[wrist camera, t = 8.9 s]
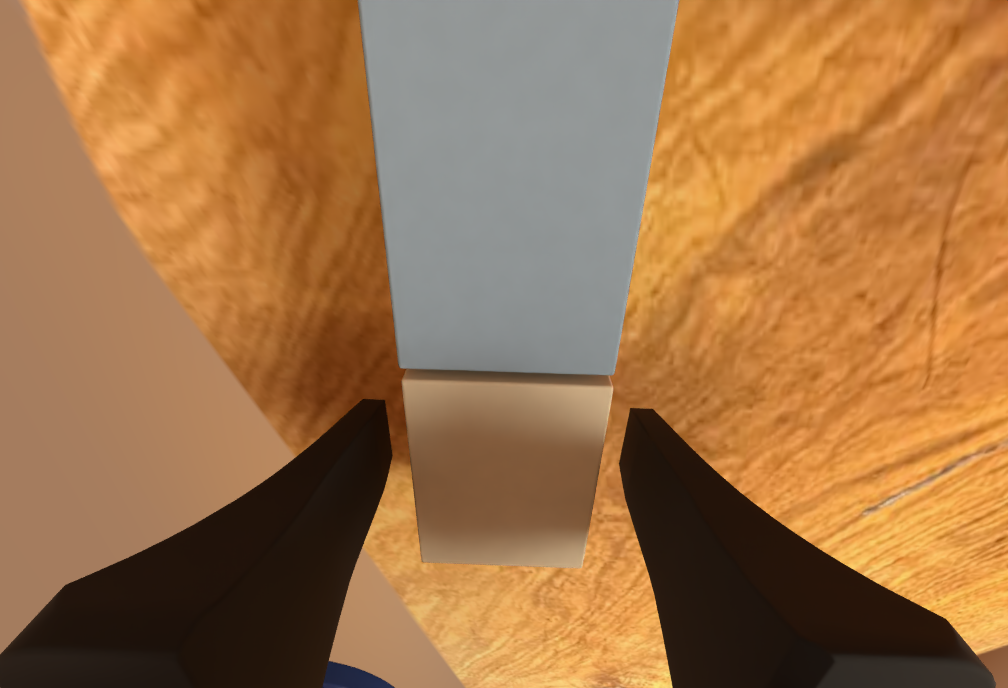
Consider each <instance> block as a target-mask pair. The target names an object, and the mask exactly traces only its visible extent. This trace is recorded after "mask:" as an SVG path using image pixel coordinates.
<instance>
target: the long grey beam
mask: <svg viewBox="0 0 1008 688" xmlns="http://www.w3.org/2000/svg"><path fill="white" fill-rule="evenodd" d="M678 4H679V0H358V8H359V17H360V25H361V34H362V43H363V52H364V61H365V70H366V79H367V88H368V97H369V106H370V115H371V124H372V133H373V142H374V151H375V160H376V169H377V178H378V187H379V196H380V205H381V213H382V222H383V231H384V240H385V249H386V258H387V267H388V276H389V285H390V294H391V303H392V312H393V321H394V330H395V339H396V348H397V357H398V365H399V367H400V368H404V369H434V370H464V371H494V372H523V373H553V374H583V375H613V374H614V372H615V368H616V362H617V356H618V350H619V344H620V339H621V333H622V327H623V321H624V316H625V310H626V304H627V298H628V292H629V287H630V281H631V275H632V269H633V264H634V258H635V252H636V246H637V240H638V235H639V229H640V223H641V217H642V212H643V206H644V200H645V194H646V188H647V183H648V177H649V171H650V165H651V160H652V154H653V148H654V142H655V136H656V131H657V125H658V119H659V113H660V108H661V102H662V96H663V90H664V84H665V79H666V73H667V67H668V61H669V56H670V50H671V44H672V38H673V32H674V27H675V21H676V15H677V9H678Z"/></svg>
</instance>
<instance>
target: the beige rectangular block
mask: <svg viewBox="0 0 1008 688" xmlns="http://www.w3.org/2000/svg"><path fill="white" fill-rule="evenodd" d="M401 382H402V391H403V400H404V409H405V418H406V427H407V436H408V444H409V453H410V462H411V471H412V480H413V489H414V498H415V507H416V516H417V525H418V534H419V543H420V551H421V560H422V562H428V563H454V564H480V565H506V566H532V567H558V568H582V566H583V561H584V555H585V549H586V544H587V538H588V532H589V526H590V521H591V515H592V509H593V503H594V498H595V492H596V486H597V480H598V475H599V469H600V463H601V457H602V452H603V446H604V440H605V434H606V429H607V423H608V417H609V411H610V406H611V400H612V394H613V385H612V382H611V379H610V376H609V375H583V374H553V373H523V372H494V371H464V370H434V369H406V371H405V374H404V376H403V379H402V381H401Z"/></svg>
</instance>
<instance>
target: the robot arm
mask: <svg viewBox="0 0 1008 688" xmlns="http://www.w3.org/2000/svg"><path fill="white" fill-rule="evenodd" d="M391 460H392V448H391V441H390V433H389V426H388V418H387V411H386V404H385V400H377V399H363V400H362V401H360V402H359V403H358V404H357V405H356V406H355V407H354V408H352V409H351V410H350V411H349V412H348V413H347V414H346V415H345V416H344V417H342V418H341V419H340V420H339V421H338V422H337V423H336V424H335V425H334V426H332V427H331V428H330V429H329V430H328V431H327V432H326V433H324V434H323V435H322V436H321V437H320V438H319V439H318V440H316V441H315V442H314V443H313V444H312V445H311V446H309V447H308V448H307V449H306V450H304V451H303V452H302V453H301V454H299V455H298V456H297V457H296V458H294V459H293V460H292V461H291V462H289V463H288V464H287V465H286V466H284V467H283V468H282V469H280V470H279V471H278V472H276V473H275V474H274V475H272V476H271V477H269V478H268V479H267V480H265V481H264V482H263V483H261V484H260V485H258V486H257V487H255V488H254V489H252V490H250V491H249V492H247V493H246V494H244V495H243V496H242V497H240V498H238V499H237V500H235V501H233V502H232V503H230V504H228V505H226V506H225V507H223V508H221V509H220V510H218V511H216V512H215V513H213V514H211V515H209V516H208V517H206V518H205V519H203V520H201V521H199V522H198V523H196V524H194V525H192V526H190V527H189V528H187V529H185V530H183V531H181V532H179V533H177V534H175V535H173V536H172V537H170V538H168V539H166V540H164V541H162V542H159V543H157V544H156V545H153V546H151V547H149V548H148V549H145V550H143V551H142V552H139V553H137V554H135V555H133V556H131V557H129V558H126V559H124V560H122V561H120V562H117V563H115V564H113V565H110V566H108V567H106V568H104V569H101V570H99V571H97V572H94V573H92V574H90V575H88V576H85V577H83V578H81V579H79V580H76V581H74V582H71V583H69V584H67V585H65V586H64V587H63V588H62V589H61V590H60V591H59V592H58V593H57V594H56V595H55V596H54V598H53V599H52V600H51V601H50V602H49V603H48V604H47V605H46V606H45V607H44V608H43V609H42V610H41V612H40V613H39V614H38V615H37V616H36V617H35V618H34V619H33V620H32V621H31V622H30V623H29V624H28V625H27V626H26V628H25V629H24V630H23V631H22V632H21V633H20V634H19V635H18V636H17V637H16V638H15V639H14V640H13V641H12V643H11V644H10V645H9V646H8V647H7V648H6V649H5V650H4V651H3V652H2V653H1V654H0V688H322V686H323V682H324V677H325V673H326V669H327V665H328V661H329V657H330V653H331V649H332V645H333V641H334V638H335V634H336V630H337V626H338V622H339V618H340V615H341V611H342V607H343V604H344V600H345V597H346V593H347V590H348V586H349V582H350V579H351V576H352V573H353V570H354V567H355V564H356V562H357V559H358V557H359V554H360V552H361V549H362V546H363V544H364V541H365V539H366V536H367V533H368V531H369V528H370V526H371V523H372V520H373V518H374V515H375V513H376V510H377V507H378V505H379V502H380V499H381V497H382V494H383V491H384V488H385V485H386V481H387V477H388V473H389V468H390V464H391ZM619 466H620V472H621V478H622V484H623V489H624V494H625V499H626V502H627V506H628V509H629V512H630V515H631V519H632V522H633V525H634V528H635V532H636V535H637V538H638V541H639V544H640V547H641V551H642V554H643V557H644V560H645V563H646V567H647V570H648V573H649V576H650V580H651V584H652V587H653V591H654V595H655V600H656V605H657V609H658V614H659V619H660V624H661V628H662V633H663V638H664V644H665V649H666V654H667V659H668V665H669V670H670V675H671V681H672V686H673V688H995V686H996V683H995V681H994V678H993V675H992V674H991V672H990V671H989V670H988V669H987V668H986V666H985V665H984V664H983V663H982V662H981V660H980V659H979V658H978V657H977V655H976V654H975V653H974V652H973V651H972V649H971V648H970V647H969V646H968V645H967V643H966V642H965V641H964V640H963V639H962V637H961V636H960V635H959V634H958V632H957V631H956V630H955V629H954V628H953V627H952V625H951V624H950V623H949V622H948V621H947V620H946V619H945V618H943V617H941V616H939V615H937V614H935V613H933V612H931V611H929V610H927V609H925V608H924V607H922V606H920V605H918V604H916V603H914V602H912V601H910V600H908V599H906V598H904V597H902V596H900V595H898V594H896V593H894V592H893V591H891V590H889V589H887V588H885V587H883V586H881V585H879V584H877V583H876V582H874V581H872V580H870V579H869V578H867V577H865V576H863V575H862V574H860V573H858V572H857V571H855V570H853V569H851V568H850V567H848V566H846V565H844V564H843V563H841V562H839V561H838V560H836V559H835V558H833V557H831V556H830V555H828V554H826V553H825V552H823V551H822V550H820V549H818V548H817V547H815V546H814V545H812V544H811V543H809V542H808V541H806V540H805V539H803V538H802V537H800V536H799V535H797V534H796V533H794V532H793V531H791V530H790V529H788V528H787V527H785V526H784V525H783V524H781V523H780V522H778V521H777V520H775V519H774V518H773V517H771V516H770V515H769V514H767V513H766V512H765V511H764V510H762V509H761V508H760V507H758V506H757V505H756V504H754V503H753V502H752V501H750V500H749V499H748V498H747V497H745V496H744V495H743V494H742V493H740V492H739V491H738V490H737V489H736V488H734V487H733V486H732V485H731V484H730V483H729V482H728V481H726V480H725V479H724V478H723V477H722V476H721V475H719V474H718V473H717V472H716V471H715V470H714V469H713V468H712V467H711V466H710V465H708V464H707V463H706V462H705V461H704V460H703V459H702V458H701V457H700V456H699V455H698V454H697V453H696V452H695V451H694V450H693V449H692V448H691V447H690V446H689V445H688V444H687V443H686V442H685V441H684V440H683V439H682V438H681V437H680V436H679V435H678V434H677V433H676V432H675V431H674V430H673V429H672V428H671V427H670V426H669V425H668V424H667V423H666V422H665V421H664V420H663V419H662V418H661V417H660V416H659V415H658V414H657V413H656V412H655V411H654V410H653V409H640V408H630V413H629V418H628V422H627V427H626V432H625V437H624V442H623V447H622V452H621V457H620V462H619Z"/></svg>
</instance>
